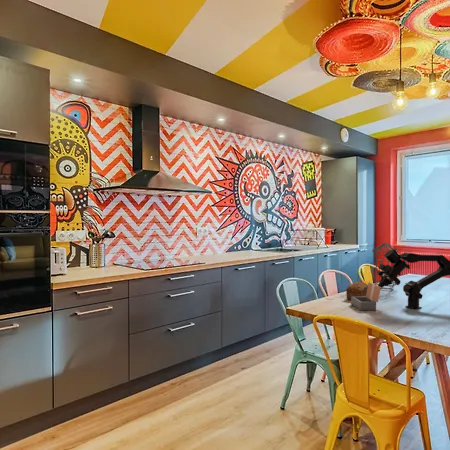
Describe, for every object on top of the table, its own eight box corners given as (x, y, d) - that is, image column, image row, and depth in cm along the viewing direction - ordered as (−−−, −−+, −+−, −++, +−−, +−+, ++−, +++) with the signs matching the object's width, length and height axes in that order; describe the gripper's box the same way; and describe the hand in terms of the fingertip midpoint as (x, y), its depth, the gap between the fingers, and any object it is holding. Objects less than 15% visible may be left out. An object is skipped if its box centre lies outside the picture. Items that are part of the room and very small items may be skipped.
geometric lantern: (394, 293, 245) (393, 243, 244) (371, 290, 255) (370, 243, 254) (400, 289, 257) (399, 242, 256) (378, 287, 267) (377, 241, 266)
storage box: (365, 304, 212) (365, 296, 212) (376, 310, 198) (376, 302, 198) (351, 304, 212) (351, 296, 212) (360, 310, 198) (360, 302, 198)
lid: (365, 296, 212) (367, 296, 212) (376, 302, 198) (377, 302, 198) (368, 281, 212) (370, 282, 212) (379, 286, 198) (380, 286, 198)
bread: (353, 294, 241) (354, 280, 240) (370, 296, 234) (370, 282, 234) (345, 299, 226) (345, 284, 225) (362, 302, 219) (362, 286, 219)
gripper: (380, 257, 214) (362, 275, 214) (395, 261, 196) (375, 280, 196) (392, 270, 215) (374, 287, 215) (409, 275, 196) (389, 294, 196)
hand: (378, 287), depth 205 cm, fingers closed
